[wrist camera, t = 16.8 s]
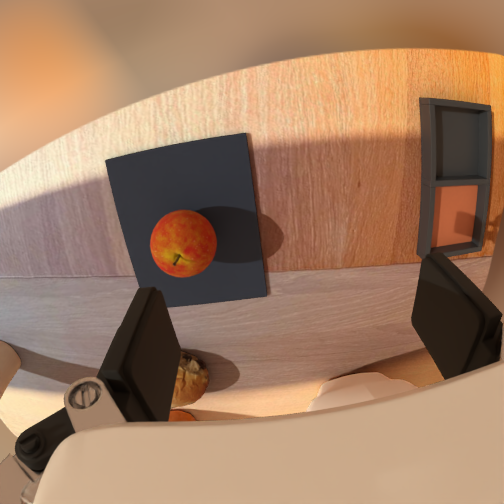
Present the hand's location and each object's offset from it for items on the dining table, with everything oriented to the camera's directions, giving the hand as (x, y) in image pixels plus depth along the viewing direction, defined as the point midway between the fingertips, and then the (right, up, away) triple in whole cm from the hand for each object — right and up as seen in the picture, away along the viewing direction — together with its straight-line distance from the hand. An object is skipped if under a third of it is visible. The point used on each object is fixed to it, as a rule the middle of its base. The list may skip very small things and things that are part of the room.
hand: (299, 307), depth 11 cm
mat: (-9, +4, +25) cm, 27 cm away
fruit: (-9, +4, +25) cm, 27 cm away
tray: (+24, +11, +23) cm, 36 cm away
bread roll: (-13, -16, +35) cm, 41 cm away
